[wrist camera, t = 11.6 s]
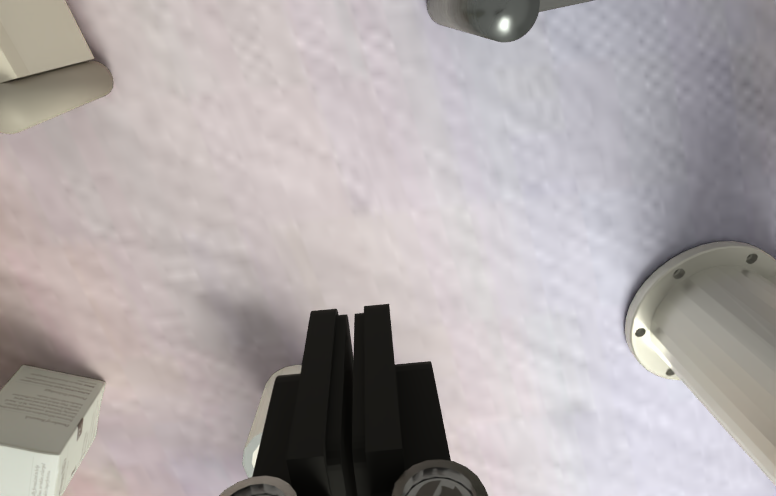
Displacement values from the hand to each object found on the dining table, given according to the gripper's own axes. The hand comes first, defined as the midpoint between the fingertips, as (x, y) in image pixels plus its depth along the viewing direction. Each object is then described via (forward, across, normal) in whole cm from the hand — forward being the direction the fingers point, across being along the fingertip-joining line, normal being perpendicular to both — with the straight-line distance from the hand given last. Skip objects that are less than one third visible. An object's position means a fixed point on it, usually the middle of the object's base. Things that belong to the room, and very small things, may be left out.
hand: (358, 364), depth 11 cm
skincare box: (+24, +25, +19) cm, 39 cm away
